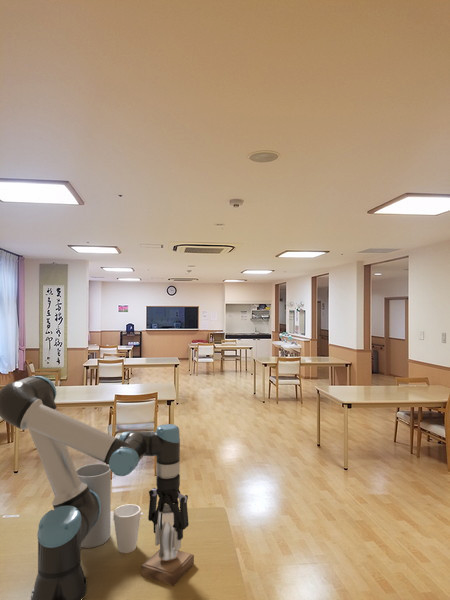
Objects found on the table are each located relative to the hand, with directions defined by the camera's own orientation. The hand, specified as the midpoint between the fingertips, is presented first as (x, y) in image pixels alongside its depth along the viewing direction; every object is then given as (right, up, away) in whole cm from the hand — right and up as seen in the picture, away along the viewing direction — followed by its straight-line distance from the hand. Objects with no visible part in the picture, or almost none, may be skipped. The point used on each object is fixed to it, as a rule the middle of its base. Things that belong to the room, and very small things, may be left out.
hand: (168, 546), depth 132 cm
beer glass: (0, -3, 0) cm, 3 cm away
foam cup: (-16, -8, +12) cm, 22 cm away
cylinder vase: (-30, -8, +18) cm, 36 cm away
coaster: (0, -7, 0) cm, 7 cm away
